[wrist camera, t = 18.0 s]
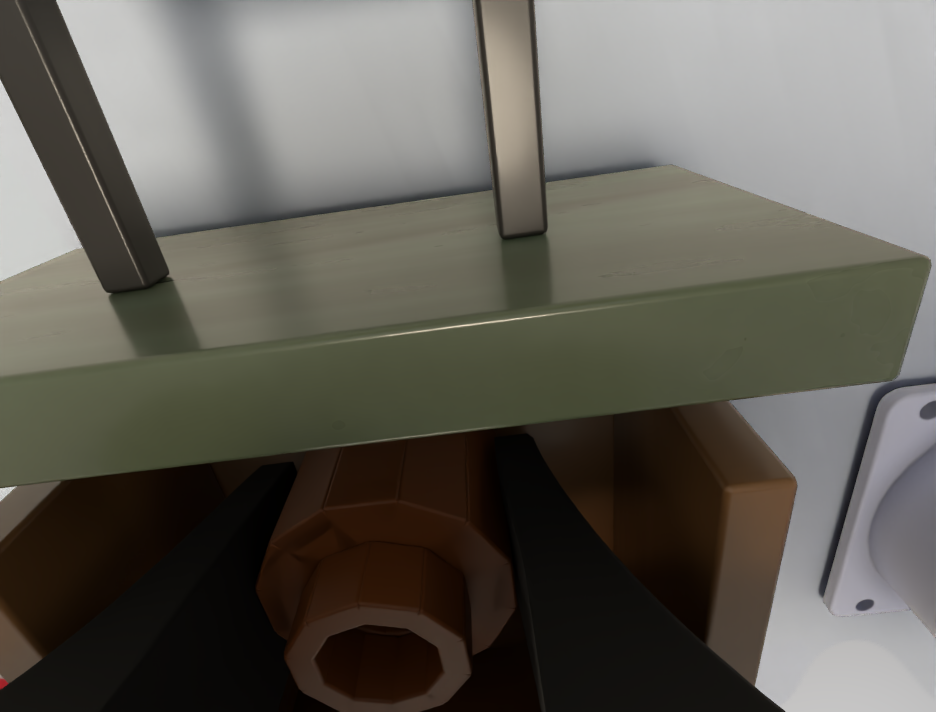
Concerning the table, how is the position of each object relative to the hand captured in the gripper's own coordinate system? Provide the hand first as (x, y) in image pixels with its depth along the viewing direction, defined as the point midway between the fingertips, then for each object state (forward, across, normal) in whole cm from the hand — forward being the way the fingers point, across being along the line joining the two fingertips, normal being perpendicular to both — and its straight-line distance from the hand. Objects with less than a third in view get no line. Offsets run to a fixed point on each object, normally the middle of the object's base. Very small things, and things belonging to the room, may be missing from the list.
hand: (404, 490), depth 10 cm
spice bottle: (+1, 0, 0) cm, 1 cm away
